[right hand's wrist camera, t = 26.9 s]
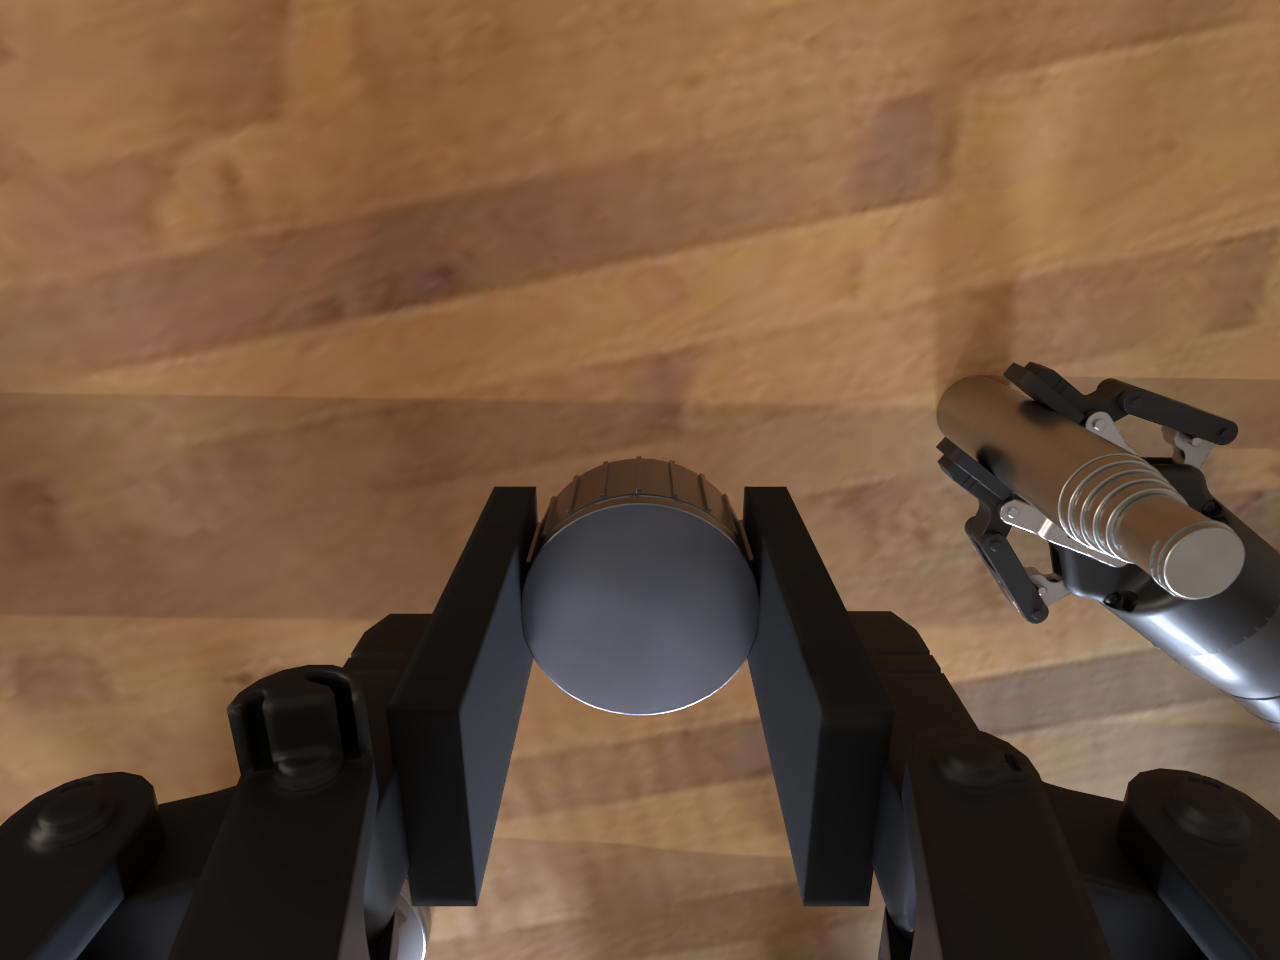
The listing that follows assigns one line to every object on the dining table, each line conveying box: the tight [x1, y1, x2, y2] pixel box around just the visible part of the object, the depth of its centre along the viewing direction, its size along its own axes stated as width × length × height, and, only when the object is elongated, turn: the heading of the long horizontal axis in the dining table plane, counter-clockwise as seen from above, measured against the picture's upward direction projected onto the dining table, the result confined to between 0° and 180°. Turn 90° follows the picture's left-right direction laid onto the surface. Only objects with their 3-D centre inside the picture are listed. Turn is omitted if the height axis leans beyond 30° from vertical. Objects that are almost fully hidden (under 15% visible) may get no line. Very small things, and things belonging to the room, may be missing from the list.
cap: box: [521, 456, 760, 715], centre depth 14 cm, size 4×4×2 cm
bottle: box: [937, 376, 1245, 600], centre depth 35 cm, size 4×4×20 cm
